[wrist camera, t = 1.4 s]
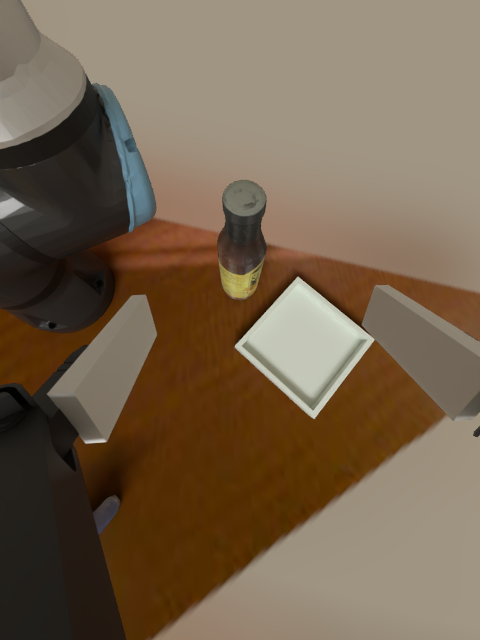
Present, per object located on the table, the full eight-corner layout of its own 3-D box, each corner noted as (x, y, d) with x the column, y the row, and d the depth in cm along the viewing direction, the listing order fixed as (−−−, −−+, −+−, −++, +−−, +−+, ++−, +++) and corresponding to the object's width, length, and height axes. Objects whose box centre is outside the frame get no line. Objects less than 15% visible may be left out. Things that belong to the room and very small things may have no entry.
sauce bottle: (254, 303, 38) (276, 238, 18) (219, 299, 38) (204, 229, 18) (258, 269, 39) (282, 175, 20) (224, 265, 39) (215, 166, 20)
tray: (234, 347, 36) (234, 346, 33) (293, 282, 39) (297, 276, 36) (308, 415, 34) (314, 418, 32) (365, 341, 37) (374, 339, 34)
